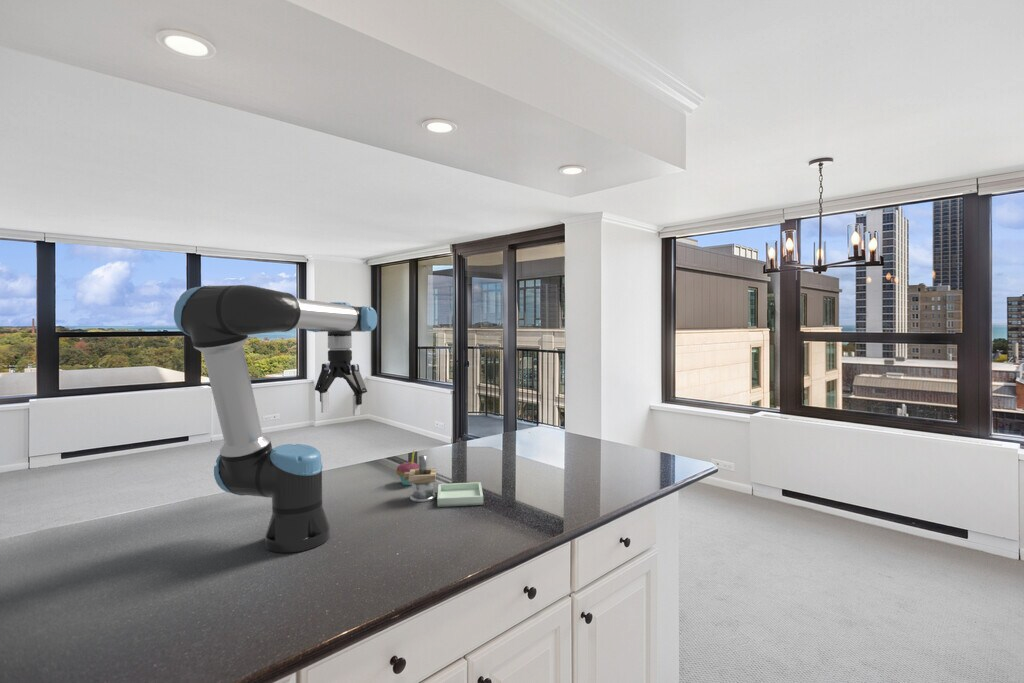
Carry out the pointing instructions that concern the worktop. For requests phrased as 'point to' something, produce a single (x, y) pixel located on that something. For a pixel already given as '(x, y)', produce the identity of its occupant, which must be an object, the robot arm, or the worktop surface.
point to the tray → (459, 494)
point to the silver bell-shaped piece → (422, 485)
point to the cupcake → (406, 469)
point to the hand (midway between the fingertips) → (340, 413)
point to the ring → (420, 476)
